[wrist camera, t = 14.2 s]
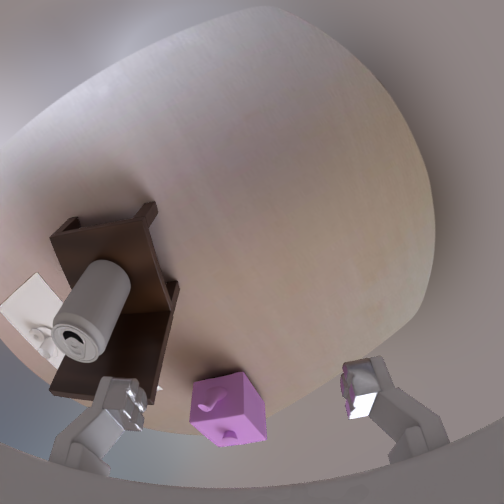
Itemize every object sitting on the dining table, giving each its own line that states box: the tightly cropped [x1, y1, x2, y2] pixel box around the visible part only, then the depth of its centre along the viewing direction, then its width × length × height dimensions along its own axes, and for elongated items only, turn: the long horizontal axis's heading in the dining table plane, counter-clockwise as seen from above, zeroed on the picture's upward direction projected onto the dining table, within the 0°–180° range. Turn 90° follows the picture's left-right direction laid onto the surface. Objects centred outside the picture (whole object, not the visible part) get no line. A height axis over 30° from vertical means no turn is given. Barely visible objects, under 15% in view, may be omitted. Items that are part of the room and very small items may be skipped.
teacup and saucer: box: [28, 326, 64, 360], centre depth 49 cm, size 9×8×4 cm
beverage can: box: [51, 260, 131, 363], centre depth 31 cm, size 6×6×12 cm
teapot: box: [189, 372, 267, 447], centre depth 51 cm, size 20×10×13 cm, turn 20°
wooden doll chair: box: [49, 202, 180, 405], centre depth 33 cm, size 14×14×20 cm
